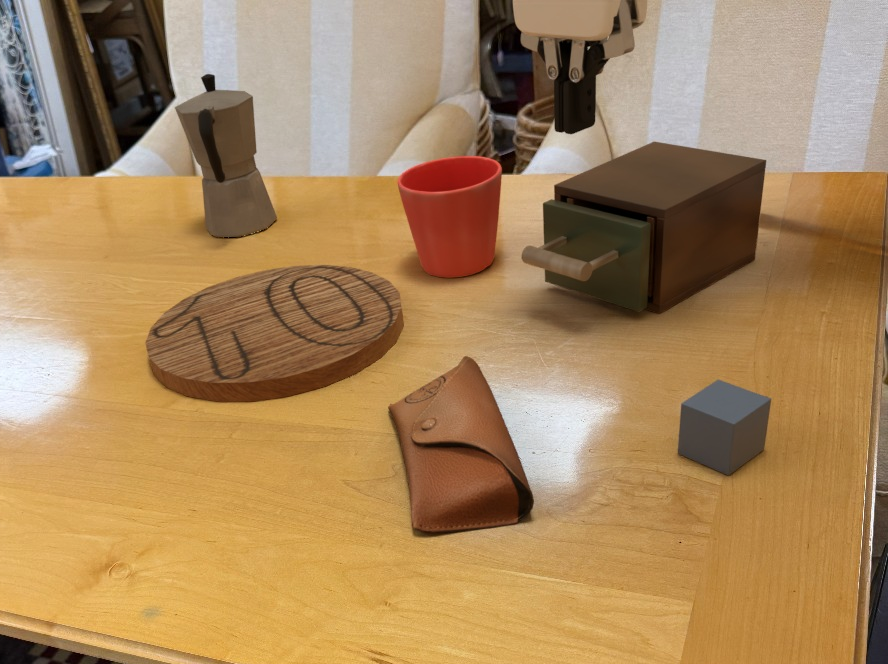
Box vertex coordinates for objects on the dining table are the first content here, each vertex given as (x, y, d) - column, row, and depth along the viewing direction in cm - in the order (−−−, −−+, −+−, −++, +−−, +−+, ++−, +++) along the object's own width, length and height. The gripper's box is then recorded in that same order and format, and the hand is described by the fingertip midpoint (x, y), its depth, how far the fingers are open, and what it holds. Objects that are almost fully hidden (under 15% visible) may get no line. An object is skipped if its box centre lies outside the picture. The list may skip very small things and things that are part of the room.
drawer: (599, 333, 79) (600, 247, 74) (506, 300, 87) (502, 220, 82) (730, 261, 87) (738, 179, 83) (634, 236, 95) (637, 160, 90)
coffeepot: (213, 212, 122) (177, 67, 111) (282, 202, 121) (253, 56, 111) (195, 256, 110) (153, 98, 99) (272, 246, 109) (238, 86, 98)
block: (713, 428, 67) (718, 379, 64) (764, 449, 64) (771, 398, 62) (677, 453, 65) (680, 403, 63) (728, 476, 62) (734, 424, 60)
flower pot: (392, 283, 96) (379, 191, 90) (428, 242, 103) (419, 155, 98) (488, 287, 92) (482, 191, 86) (519, 245, 99) (515, 154, 94)
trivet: (188, 433, 76) (182, 414, 75) (126, 327, 95) (121, 311, 94) (450, 343, 83) (448, 324, 82) (344, 261, 102) (341, 245, 101)
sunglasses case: (380, 402, 75) (413, 332, 72) (456, 426, 77) (491, 359, 74) (412, 536, 61) (455, 456, 57) (504, 561, 63) (550, 485, 60)
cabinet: (659, 314, 82) (665, 210, 77) (555, 281, 91) (553, 184, 85) (755, 259, 89) (766, 159, 83) (650, 233, 97) (653, 141, 92)
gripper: (697, -156, 61) (679, 128, 72) (534, -141, 71) (540, 107, 82) (624, -141, 58) (616, 155, 68) (464, -127, 68) (479, 129, 78)
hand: (574, 128), depth 75 cm, fingers closed
